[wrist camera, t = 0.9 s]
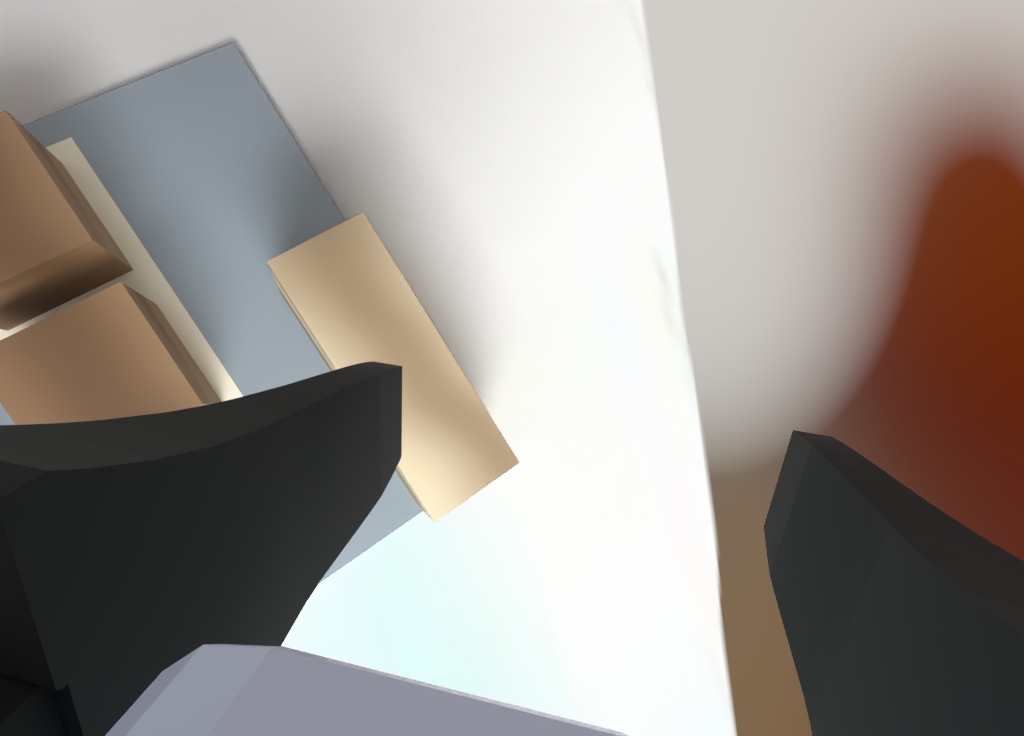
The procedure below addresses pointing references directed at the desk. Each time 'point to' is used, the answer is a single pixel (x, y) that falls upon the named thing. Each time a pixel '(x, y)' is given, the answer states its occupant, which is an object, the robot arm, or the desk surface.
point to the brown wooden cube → (99, 364)
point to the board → (208, 226)
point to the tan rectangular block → (395, 359)
